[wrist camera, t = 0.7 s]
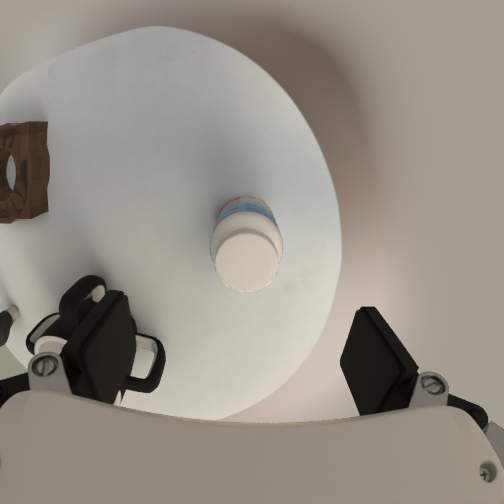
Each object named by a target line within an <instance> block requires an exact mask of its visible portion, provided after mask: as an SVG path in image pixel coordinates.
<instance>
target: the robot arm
mask: <svg viewBox="0 0 504 504" xmlns="http://www.w3.org/2000/svg"><path fill="white" fill-rule="evenodd" d="M135 354H136V344H135V339H134V333H133V328H132V322H131V316H130V309H129V302H128V297H127V296H126V295H124V293H123V292H122V291H117V290H108V291H107V293H106V294H105V295H104V296H103V297H102V299H101V300H100V301H99V302H98V303H97V304H96V306H95V307H94V308H93V309H92V311H91V312H90V313H89V314H88V315H87V317H86V318H85V319H84V320H83V322H82V323H81V324H80V325H79V327H78V328H77V329H76V330H75V332H74V333H73V334H72V336H71V337H70V338H69V340H68V341H67V342H66V343H65V345H64V346H63V347H62V351H61V353H60V354H59V355H58V354H56V353H54V352H42V353H39V354H37V355H36V356H34V357H33V358H32V359H31V360H30V362H29V364H28V372H27V373H24V374H20V375H17V376H14V377H10V378H7V379H3V380H0V504H504V429H502V428H501V427H499V426H498V425H497V424H495V423H494V422H492V421H491V422H490V423H488V416H487V413H486V412H485V410H484V409H483V408H482V407H480V406H478V405H476V404H473V403H471V402H468V401H466V400H463V399H461V398H458V397H456V396H453V395H451V394H449V393H448V392H449V386H448V383H447V381H446V380H445V379H444V378H443V377H442V376H441V375H439V374H437V373H434V372H423V373H421V374H420V375H419V374H418V372H417V370H418V368H419V367H418V366H417V364H416V363H415V361H414V360H413V358H412V357H411V355H410V354H409V353H408V351H407V350H406V348H405V347H404V346H403V344H402V343H401V342H400V340H399V339H398V337H397V336H396V335H395V333H394V332H393V330H392V329H391V328H390V326H389V325H388V323H387V322H386V321H385V319H384V318H383V317H382V315H381V314H380V313H379V311H378V310H377V309H376V308H375V307H361V308H360V310H357V311H356V313H355V316H354V319H353V323H352V326H351V329H350V332H349V335H348V339H347V341H346V344H345V347H344V350H343V353H342V355H341V358H340V366H341V369H342V371H343V374H344V376H345V379H346V381H347V384H348V386H349V389H350V391H351V394H352V396H353V398H354V401H355V404H356V406H357V409H358V412H359V414H360V416H357V417H350V418H342V419H333V420H322V421H309V422H289V423H244V422H243V423H241V422H222V421H210V420H200V419H190V418H182V417H175V416H168V415H162V414H156V413H150V412H145V411H140V410H135V409H130V408H125V407H120V406H116V405H113V404H114V402H115V400H116V397H117V395H118V392H119V390H120V388H121V385H122V383H123V381H124V379H125V376H126V374H127V372H128V370H129V367H130V365H131V363H132V361H133V359H134V356H135Z"/></svg>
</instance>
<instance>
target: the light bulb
mask: <svg viewBox="0 0 504 504" xmlns="http://www.w3.org/2000/svg"><path fill="white" fill-rule="evenodd" d="M17 318H18V309H17V308H16V307H13V306H11V307H9V308H8V309H7V310H5V311H3V312H1V313H0V347H1V346H3V345H4V344H5V343H6V342H7V340H8V337H9V332H10V328H11V326H12V324H13V322H14V321H15V320H16V319H17Z"/></svg>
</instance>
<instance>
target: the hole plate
mask: <svg viewBox="0 0 504 504" xmlns="http://www.w3.org/2000/svg"><path fill="white" fill-rule="evenodd" d="M47 124H48V122H31V121H29V122H25V123H7V124H4V125H2V126H0V223H13V222H15V221H17V220H19V219H32V218H34V217H36V216H38V215H40V214H43V213H45V212H47V211H48V201H47V185H48V181H49V153H48V149H47V145H46V142H47ZM10 154H12V156H13V158H14V162H15V166H16V179H15V185H14V189H13V191H12V190H11V188H10V187H9V185H8V181H7V178H6V166H7V161H8V158H9V156H10Z"/></svg>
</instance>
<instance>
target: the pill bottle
mask: <svg viewBox="0 0 504 504" xmlns="http://www.w3.org/2000/svg"><path fill="white" fill-rule="evenodd" d="M282 252H283V241H282V237H281V234H280V231H279V229H278V226H277V224H276V221H275V218H274V216H273V213H272V211H271V210H270V208H269V207H268V206H267V205H266V204H265V203H264V202H263V201H261V200H259V199H257V198H253V197H246V196H243V197H237V198H235V199H232V200H231V201H229V202H228V203H227V204H226V205H225V206H224V207H223V208H222V210H221V212H220V214H219V216H218V219H217V222H216V225H215V227H214V230H213V233H212V236H211V240H210V253H211V257H212V260H213V262H214V264H215V269H216V272H217V275H218V277H219V278H220V280H221V281H222V282H223V283H224V284H225V285H226V286H228V287H229V288H231V289H233V290H236V291H239V292H254V291H258V290H260V289H262V288H264V287H266V286H267V285H268V284H269V283H270V282H271V281H272V280H273V279H274V277H275V275H276V273H277V270H278V264H279V262H280V260H281V257H282Z"/></svg>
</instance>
